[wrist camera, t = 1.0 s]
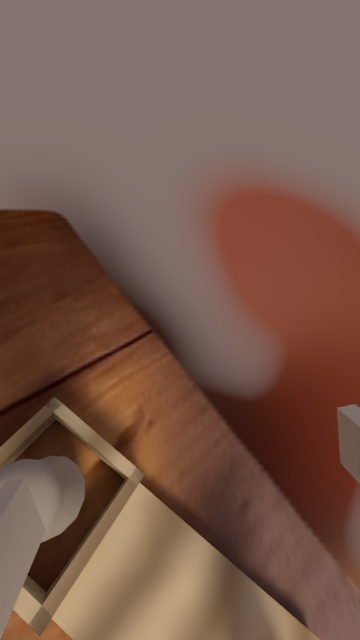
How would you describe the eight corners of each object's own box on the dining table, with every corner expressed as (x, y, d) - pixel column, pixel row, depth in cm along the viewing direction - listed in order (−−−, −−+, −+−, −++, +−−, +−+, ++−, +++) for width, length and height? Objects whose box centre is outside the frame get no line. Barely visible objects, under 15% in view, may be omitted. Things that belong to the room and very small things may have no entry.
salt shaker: (93, 461, 25) (91, 449, 15) (76, 537, 22) (56, 593, 11) (29, 454, 24) (-25, 435, 14) (1, 533, 21) (-98, 590, 10)
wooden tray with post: (-59, 516, 20) (-204, 539, 10) (56, 405, 27) (43, 348, 17) (273, 844, 17) (573, 1382, 7) (312, 627, 24) (494, 730, 13)
